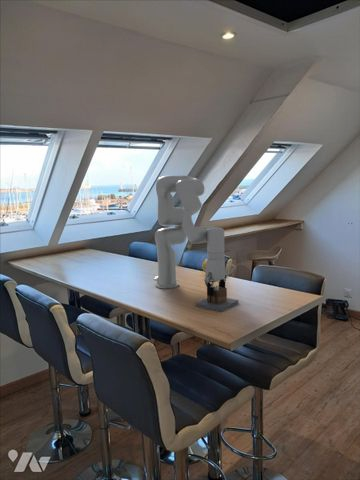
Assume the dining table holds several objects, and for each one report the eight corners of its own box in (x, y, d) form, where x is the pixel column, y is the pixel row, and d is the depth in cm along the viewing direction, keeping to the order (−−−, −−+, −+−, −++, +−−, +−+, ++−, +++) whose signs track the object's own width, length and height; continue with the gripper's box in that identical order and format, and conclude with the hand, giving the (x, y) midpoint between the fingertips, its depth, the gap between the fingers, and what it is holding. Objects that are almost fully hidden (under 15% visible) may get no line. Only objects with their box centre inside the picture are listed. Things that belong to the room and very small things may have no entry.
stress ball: (220, 276, 222) (220, 263, 228) (215, 266, 215) (216, 253, 221) (204, 278, 225) (204, 265, 231) (199, 268, 218) (200, 255, 224)
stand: (195, 306, 165) (194, 288, 164) (212, 298, 176) (212, 281, 175) (222, 312, 157) (221, 292, 156) (238, 303, 168) (238, 285, 167)
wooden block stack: (207, 302, 166) (206, 289, 165) (214, 298, 171) (214, 286, 170) (219, 304, 162) (219, 291, 161) (226, 300, 167) (226, 288, 166)
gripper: (219, 251, 172) (219, 286, 175) (197, 258, 159) (198, 296, 162) (233, 253, 168) (233, 289, 170) (212, 259, 154) (213, 299, 157)
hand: (216, 292), depth 166 cm, fingers open, 9 cm apart
